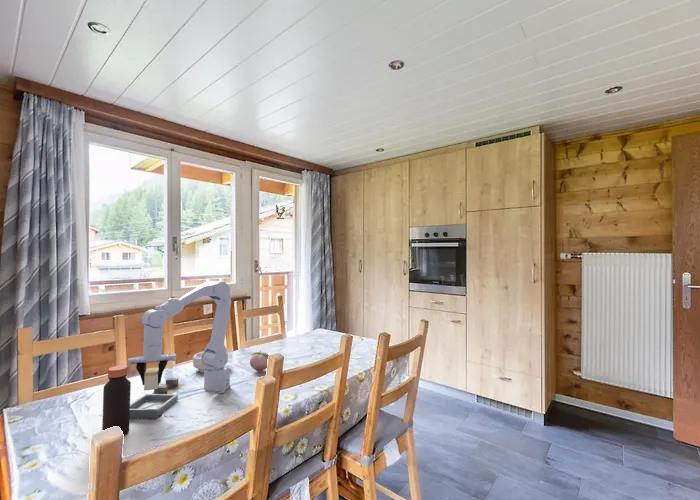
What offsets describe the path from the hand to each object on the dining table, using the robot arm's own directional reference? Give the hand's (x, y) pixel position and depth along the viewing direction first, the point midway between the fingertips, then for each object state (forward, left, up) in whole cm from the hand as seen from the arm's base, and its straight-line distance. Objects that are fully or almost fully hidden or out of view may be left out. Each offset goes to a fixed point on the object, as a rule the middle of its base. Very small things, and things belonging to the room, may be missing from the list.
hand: (151, 383), depth 116 cm
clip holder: (+3, -15, -9) cm, 18 cm away
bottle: (+1, +16, -10) cm, 19 cm away
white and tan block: (0, 0, -2) cm, 2 cm away
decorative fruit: (-27, -41, -10) cm, 50 cm away
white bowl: (-3, -42, -10) cm, 43 cm away
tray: (0, 0, -9) cm, 9 cm away
